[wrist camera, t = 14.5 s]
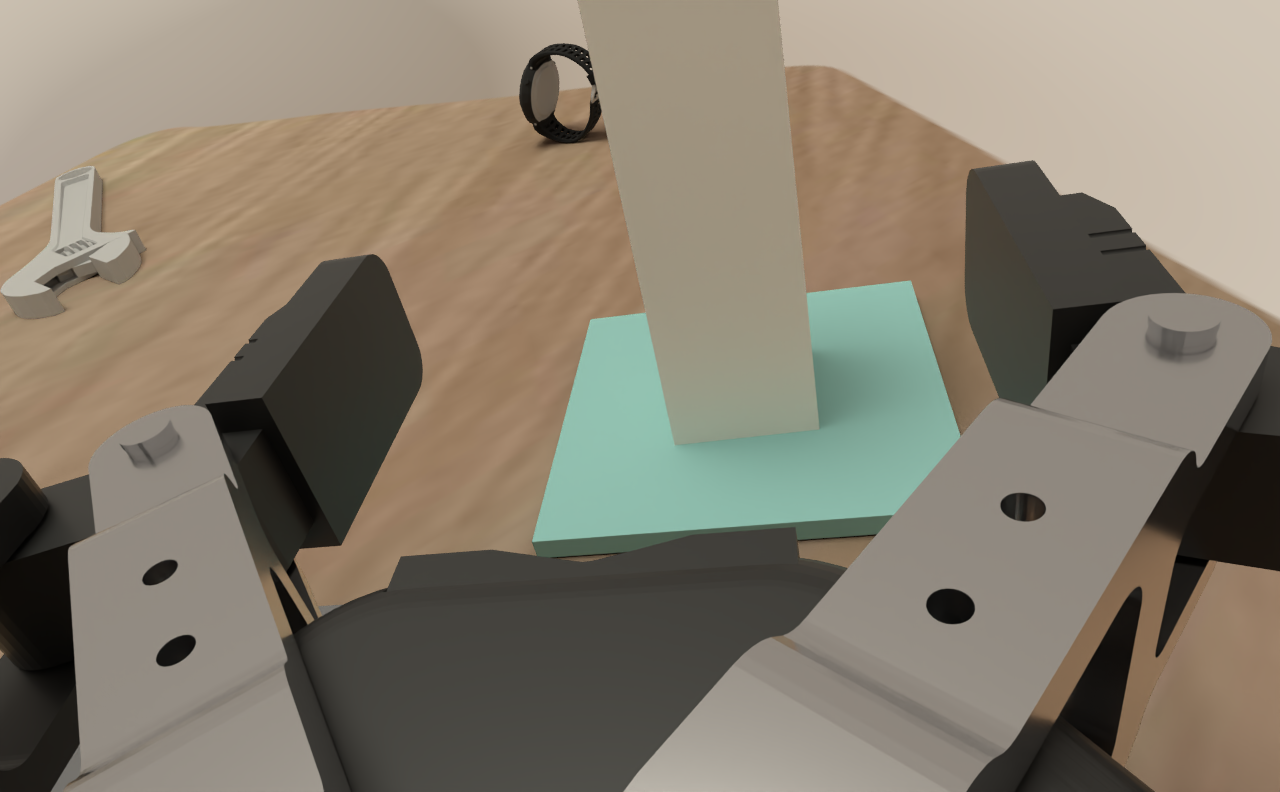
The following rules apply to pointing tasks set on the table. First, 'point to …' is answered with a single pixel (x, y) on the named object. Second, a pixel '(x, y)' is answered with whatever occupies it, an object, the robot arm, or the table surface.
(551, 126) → the smartwatch
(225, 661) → the robot arm
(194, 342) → the table surface
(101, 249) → the adjustable wrench
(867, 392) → the mat
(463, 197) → the table surface
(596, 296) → the table surface
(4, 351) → the table surface
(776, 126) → the post
